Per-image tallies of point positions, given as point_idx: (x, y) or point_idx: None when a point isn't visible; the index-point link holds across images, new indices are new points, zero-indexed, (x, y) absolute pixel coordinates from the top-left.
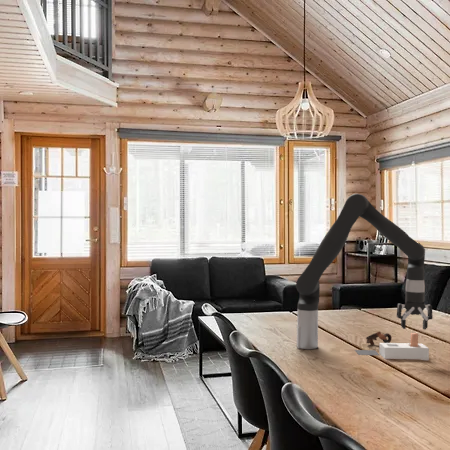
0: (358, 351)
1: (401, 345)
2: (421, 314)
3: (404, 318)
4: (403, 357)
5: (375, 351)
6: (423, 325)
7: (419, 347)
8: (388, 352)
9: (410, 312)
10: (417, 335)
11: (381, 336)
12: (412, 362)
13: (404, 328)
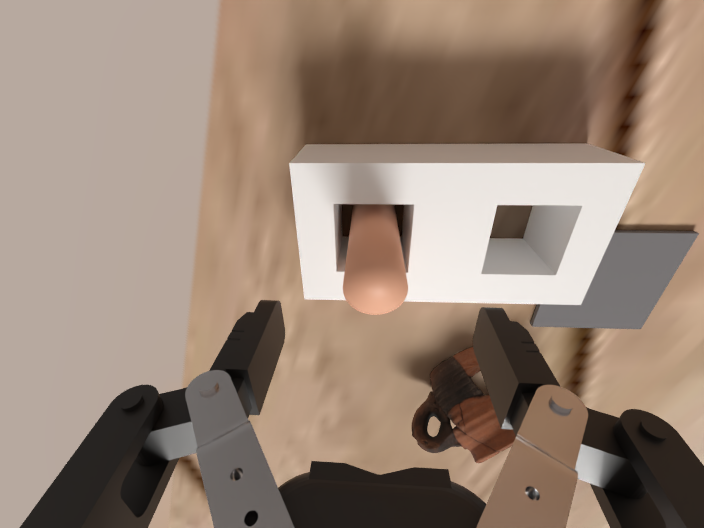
0: (641, 302)
1: (466, 239)
2: (266, 463)
3: (556, 402)
4: (468, 147)
5: (544, 304)
6: (273, 348)
7: (355, 181)
8: (590, 153)
9: (499, 511)
10: (355, 261)
11: (490, 414)
12: (432, 73)
13: (493, 308)
